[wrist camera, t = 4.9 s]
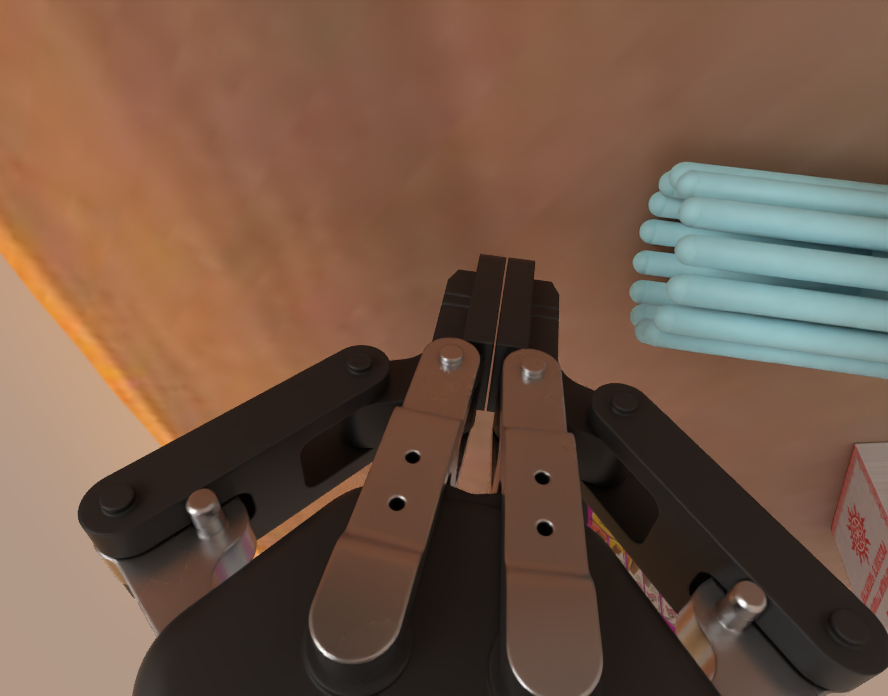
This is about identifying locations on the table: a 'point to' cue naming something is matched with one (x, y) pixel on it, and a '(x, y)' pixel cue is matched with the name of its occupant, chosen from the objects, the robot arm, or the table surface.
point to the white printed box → (865, 526)
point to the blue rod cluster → (767, 269)
